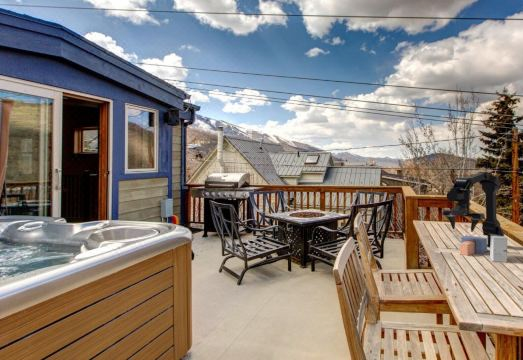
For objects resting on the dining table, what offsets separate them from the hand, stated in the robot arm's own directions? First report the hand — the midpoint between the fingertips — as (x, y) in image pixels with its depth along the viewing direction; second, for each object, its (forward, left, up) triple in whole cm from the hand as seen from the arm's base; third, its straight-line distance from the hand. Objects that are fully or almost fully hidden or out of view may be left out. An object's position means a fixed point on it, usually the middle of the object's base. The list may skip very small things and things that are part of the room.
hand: (462, 230), depth 172 cm
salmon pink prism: (-5, +1, -13) cm, 14 cm away
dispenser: (-11, +1, -13) cm, 17 cm away
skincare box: (-1, +16, -13) cm, 21 cm away
